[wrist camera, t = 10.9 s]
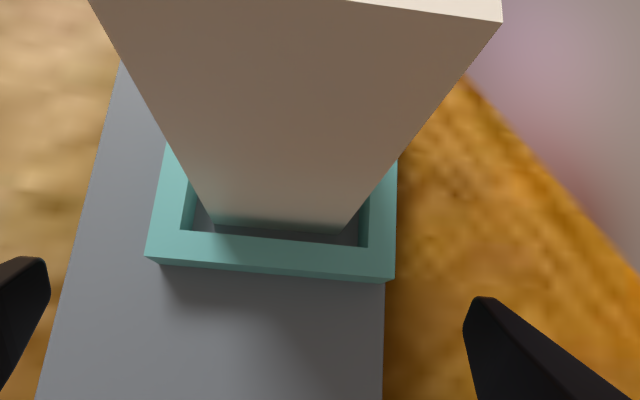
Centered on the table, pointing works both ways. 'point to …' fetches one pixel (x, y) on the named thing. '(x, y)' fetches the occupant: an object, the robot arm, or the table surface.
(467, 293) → the table surface
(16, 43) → the table surface
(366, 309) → the baseplate
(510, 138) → the table surface
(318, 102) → the column
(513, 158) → the table surface
